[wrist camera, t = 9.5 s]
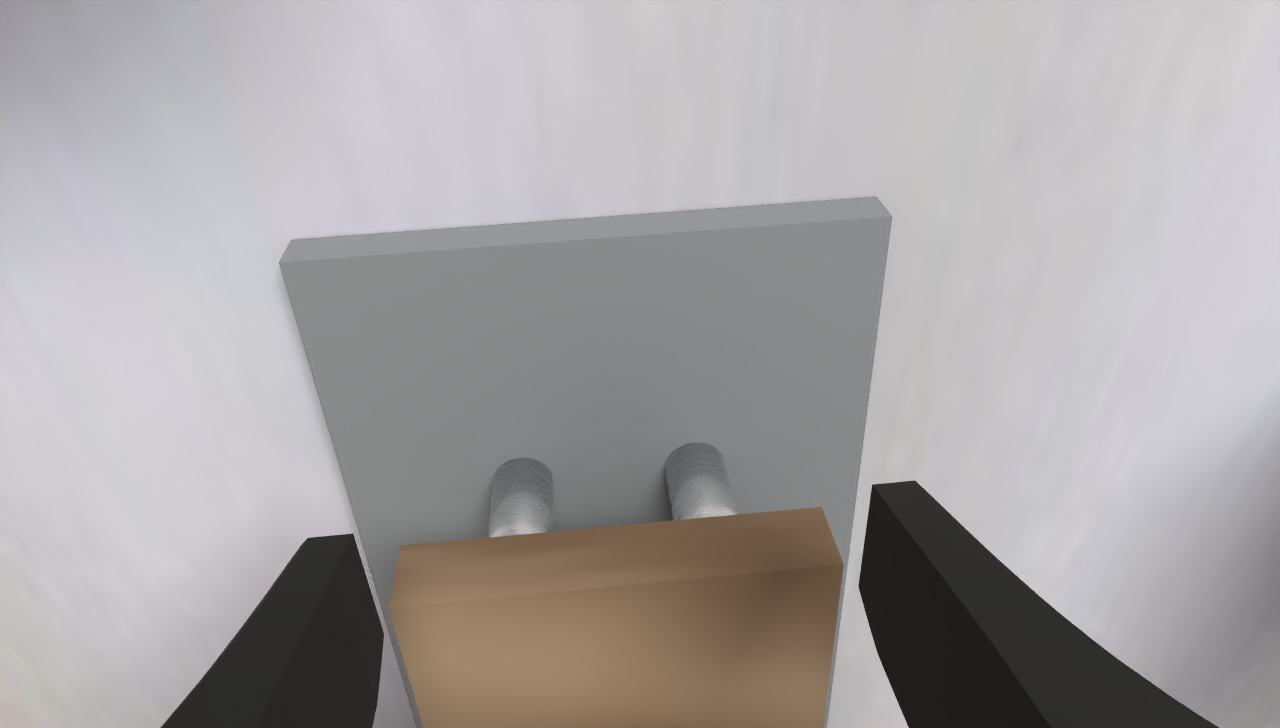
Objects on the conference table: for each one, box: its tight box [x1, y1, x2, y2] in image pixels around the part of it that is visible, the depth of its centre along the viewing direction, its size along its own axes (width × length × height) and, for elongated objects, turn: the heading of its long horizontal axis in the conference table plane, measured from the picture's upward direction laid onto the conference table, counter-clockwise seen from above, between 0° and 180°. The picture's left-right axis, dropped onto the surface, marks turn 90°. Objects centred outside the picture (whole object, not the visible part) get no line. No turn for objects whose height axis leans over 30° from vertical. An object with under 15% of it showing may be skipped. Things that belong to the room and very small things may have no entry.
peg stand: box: [279, 197, 892, 728], centre depth 22 cm, size 12×22×4 cm, turn 2°
